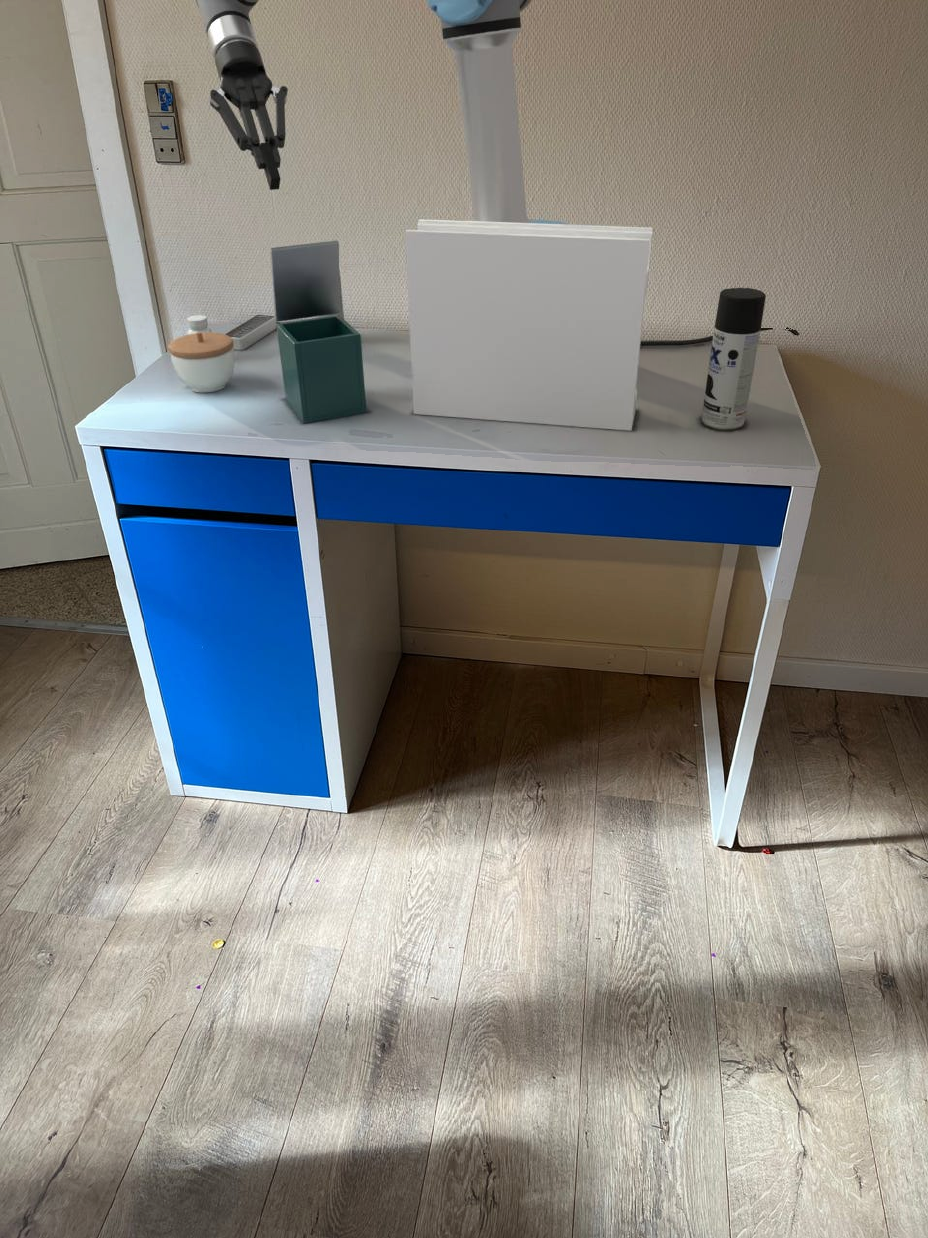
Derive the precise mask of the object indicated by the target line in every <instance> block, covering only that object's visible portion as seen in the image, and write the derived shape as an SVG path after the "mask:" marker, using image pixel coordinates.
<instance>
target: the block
mask: <svg viewBox="0 0 928 1238" xmlns="http://www.w3.org/2000/svg"><path fill="white" fill-rule="evenodd" d="M567 224H568V223H567ZM567 224H539V223H511V222H483V221H474V220H451V219H426V218H425V219H423V218H420V219H417V227H416V228H417V229H406V230H405V231H404V232H405V233H404V234H405V255H406V279H407V298H408V300H407V301H408V319H409V320H408V321H409V342H410V344H409V345H410V363H411V385H412V405H413V415H421V416H422V415H425V416H436V417H450V418H460V419H461V418H463V419H475V420H487V421H499V422H501V421H502V422H513V423H525V424H526V423H528V424H540V425H552V426H565V427H578V428H590V429H591V428H592V429H605V430H606V429H607V430H617V431H630V432H632V430H633V425H634V420H635V414H636V408H637V398H638V389H637V384H638V374H639V363H640V353H641V346H640V343H641V341H642V332H643V322H644V310H645V303H646V296H647V291H648V284H649V275H650V273H649V272H650V262H651V253H652V244H653V233H654V227H650V226H648V227H645V226H619V225H592V224H569V225H567Z"/></svg>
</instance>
